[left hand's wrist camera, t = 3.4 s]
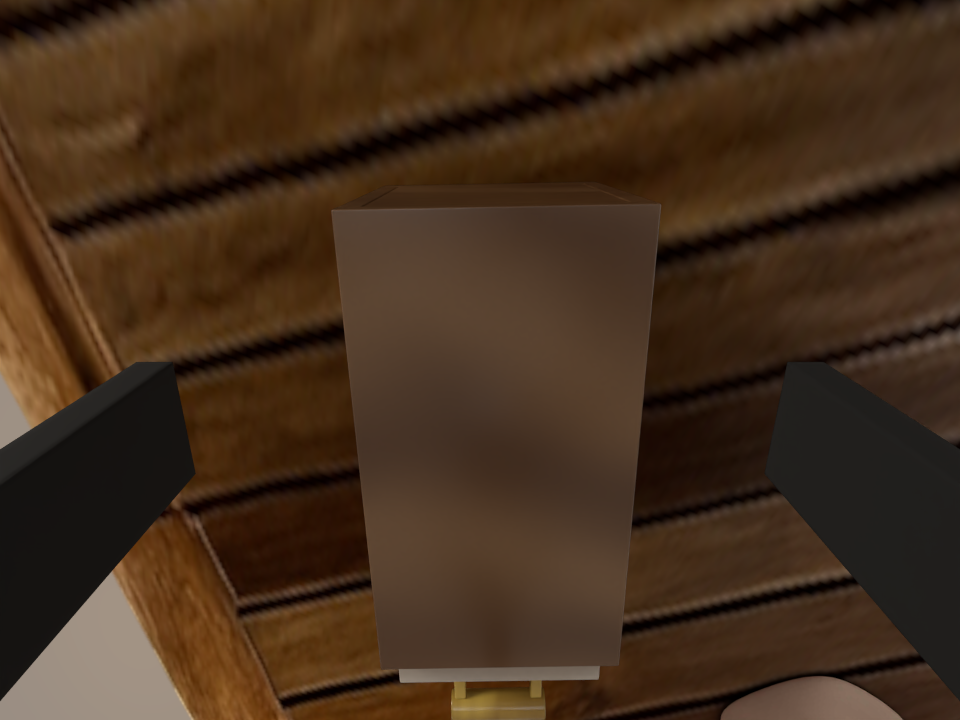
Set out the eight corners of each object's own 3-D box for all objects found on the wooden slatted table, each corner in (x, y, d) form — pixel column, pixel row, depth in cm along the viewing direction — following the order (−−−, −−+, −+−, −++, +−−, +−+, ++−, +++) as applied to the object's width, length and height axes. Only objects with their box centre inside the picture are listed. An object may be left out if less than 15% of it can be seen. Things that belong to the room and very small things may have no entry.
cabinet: (578, 517, 35) (619, 666, 25) (408, 520, 35) (380, 670, 25) (596, 181, 28) (661, 203, 18) (383, 185, 28) (331, 209, 18)
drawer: (566, 629, 37) (592, 769, 29) (423, 631, 37) (408, 771, 29) (584, 246, 28) (628, 289, 20) (397, 249, 28) (363, 294, 20)
